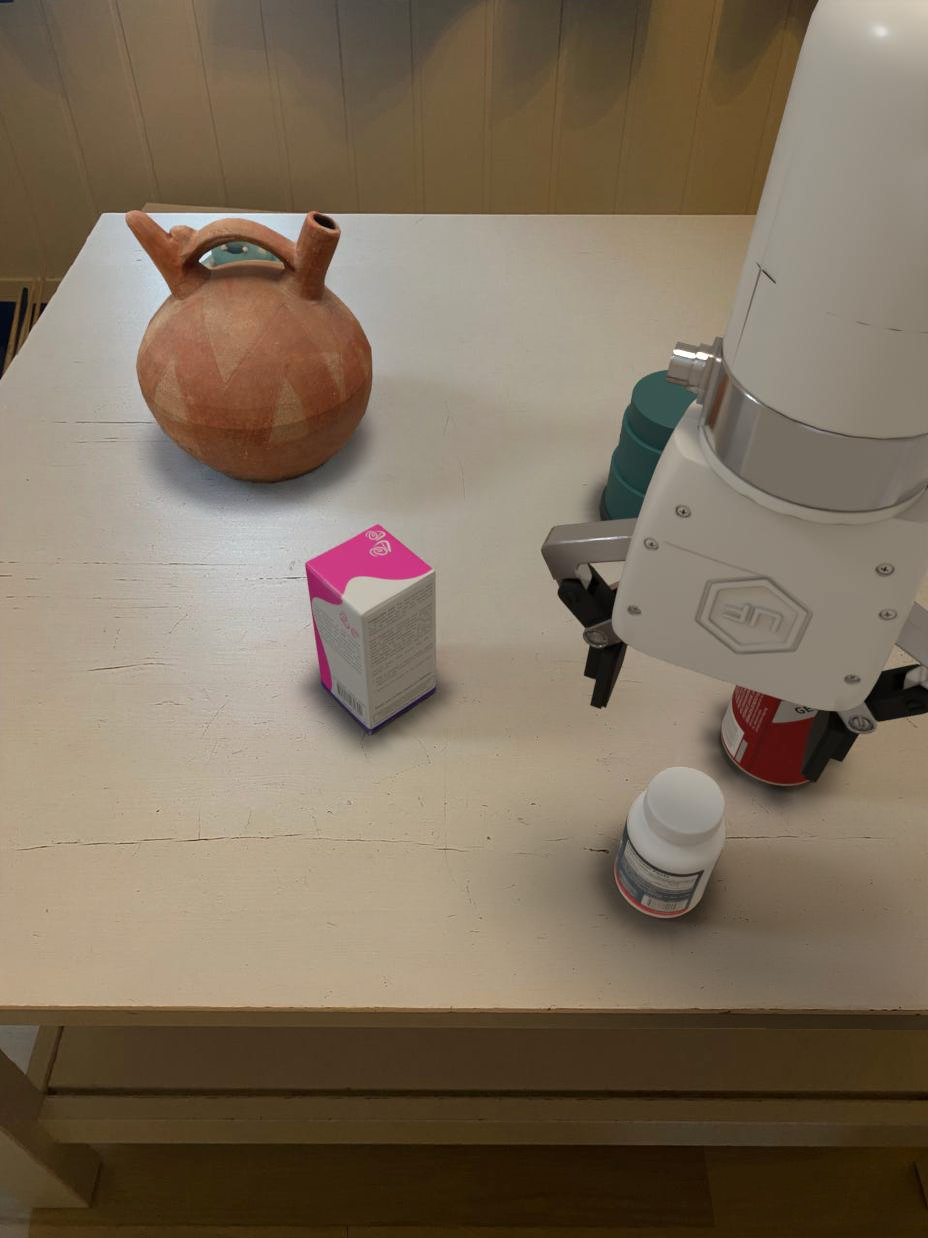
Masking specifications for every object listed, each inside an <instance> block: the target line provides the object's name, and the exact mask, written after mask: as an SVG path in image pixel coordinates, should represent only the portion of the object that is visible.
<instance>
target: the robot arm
mask: <svg viewBox="0 0 928 1238" xmlns="http://www.w3.org/2000/svg"><path fill="white" fill-rule="evenodd" d="M797 58H798V59H797V62H796V66H795V70H794V73H793V77H792V81H791V84H790V87H789V92H788V96H787V99H786V102H785V107H784V111H783V114H782V118H781V122H780V126H779V129H778V133H777V136H776V140H775V144H774V148H773V152H772V155H771V159H770V163H769V167H768V170H767V174H766V177H765V180H764V181H765V182H764V185H763V189H762V193H761V196H760V200H759V203H758V208H757V211H756V215H755V218H754V223H753V226H752V229H751V233H750V238H749V241H748V246H747V250H746V253H745V256H744V257H745V258H744V261H743V264H742V268H741V272H740V276H739V280H738V283H737V287H736V290H735V294H734V298H733V300H732V301H733V302H732V305H731V307H730V308H731V309H730V311H729V316H728V320H727V323H726V327H725V331H724V334H723V337H720V336H715V338H714V341H713V343H712V345H711V344H708V343H707V344H706V343H702V342H701V343H700V344H699V346H697V345H692V344H689V343H685V342H679V341H677V342H676V344H675V346H674V349H673V352H672V355H671V358H670V360H669V365H668V368H667V370H668V372H667V377H666V382H669V383H673V384H677V385H681V386H685V387H687V392H691V393H695V394H697V399H696V400H694V401H693V402H692V403H691V405H690V406H689V407H688V409H687V410H686V412H685V414H684V416H683V417H682V418H681V420H680V421H679V423H678V424H677V426H676V428H675V430H674V431H673V433H672V435H671V437H670V439H669V441H668V443H667V444H666V446H665V449H664V451H663V453H662V455H661V457H660V459H659V461H658V464H657V466H656V469H655V471H654V474H653V476H652V479H651V482H650V484H649V487H648V489H647V492H646V495H645V498H644V501H643V504H642V507H641V510H640V514H639V517H638V518H630V519H619V520H609V521H603V520H601V521H600V520H598V521H589V522H578V523H567V524H557V525H554V526H552V527H551V528H550V530H549V532H548V534H547V536H546V538H545V539H544V541H543V544H542V545H541V547H540V552H541V555H542V557H543V560H544V562H545V565H546V567H547V569H548V571H549V573H550V575H551V577H552V580H553V581H555V582H556V584H557V586H558V589H557V597H558V598H559V600H560V601H561V602H562V603H563V605H565V607H566V608H567V610H568V611H569V612H570V613H571V614H572V615H573V616H574V617H575V618H576V620H577V621H578V622H579V623H580V624H581V625H582V627H583V628H584V630H583V632H582V639H583V641H584V642H585V643H586V644H587V645H588V651H587V656H586V661H585V665H584V671H583V677H586V678H588V679H592V680H594V686H593V690H592V695H591V699H590V703H589V705H590V707H593V708H596V709H599V710H602V708H607V706H608V704H609V701H610V698H611V696H612V693H613V690H614V688H615V685H616V683H617V681H618V678H619V675H620V672H621V671H622V667H623V664H624V661H625V658H626V653H627V649H628V646H629V647H630V648H632V649H633V650H636V651H637V652H639V653H641V654H644V655H647V656H648V657H652V658H654V659H657V660H659V661H663V662H666V663H669V664H671V665H673V666H674V665H675V666H678V667H681V668H683V669H686V670H689V671H693V672H695V673H699V674H701V675H704V676H707V677H710V678H713V679H717V680H719V681H722V682H726V683H729V684H732V685H735V686H736V685H738V686H741V687H744V688H747V689H750V690H753V691H756V692H760V693H763V694H766V695H769V696H772V697H776V698H779V699H782V700H785V701H789V702H792V703H795V704H799V705H802V706H806V707H810V708H814V709H819V710H818V711H817V713H816V715H815V717H814V719H813V721H812V723H811V725H810V728H809V732H808V737H807V742H806V747H805V752H804V757H803V762H802V767H801V771H800V774H801V775H804V779H806V780H809V781H808V782H812V783H815V784H816V783H817V782H818V781H819V779H820V777H821V775H822V774H823V773H824V771H825V769H826V767H827V765H828V764H829V762H830V761H831V760H833V761H836V762H840V763H842V762H843V761H844V760H845V759H846V758H847V755H848V754H849V752H850V750H851V748H852V747H853V746H854V744H855V742H856V740H857V739H858V738H859V736H860V735H869V734H872V733H874V732H875V731H876V730H877V729H878V728H877V727H878V723H880V722H887V721H892V720H899V719H904V718H911V717H915V716H921V715H925V714H928V609H926V608H924V607H923V606H922V605H921V604H919V603H918V602H917V601H916V599H917V596H918V595H919V592H920V590H921V588H922V585H923V583H924V580H925V578H926V575H927V573H928V0H818V1H817V3H816V5H815V7H814V9H813V11H812V13H811V17H810V19H809V22H808V25H807V28H806V32H805V35H804V38H803V41H802V45H801V48H800V51H799V55H798V57H797ZM617 562H618V563H619V562H624V563H623V567H622V571H621V574H620V578H619V580H618V581H615V582H613V583H610V584H608V583H607V582H606V581H605V579H604V578H603V577H602V576H601V575H600V573H599V572H598V570H596V568H595V567H594V566H593V565H592V564H602V563H605V564H606V563H617ZM895 646H896V647H898V648H899V649H900V650H901V651H903V652H904V653H905V654H906V655H908V656H909V657H911V658H912V659H913V660H915V661H916V662H917V663H914V664H913V663H912V664H909V665H903V666H898V667H894V668H890V669H885V670H884V668H885V666H886V664H887V662H888V660H889V658H890V655H891V654H892V652H893V649H894V647H895Z"/></svg>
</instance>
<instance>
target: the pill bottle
mask: <svg viewBox="0 0 928 1238" xmlns="http://www.w3.org/2000/svg"><path fill="white" fill-rule="evenodd" d="M725 810H726V801H725V796H724V793H723V792H722V789H721V787H720V786H719V785H718V783H717V782H716V781H715V780H714V779H713V778H712V777H711V776H709V775H708V774H707V773H705V772H703V771H701V770H699V769H697V768H694V767H689V766H672V767H668V768H665V769H663V770H661V771H659V772H657V774H656V775H655V776H653V778H652V779H651V781H650V783H649V784H648V785H647V788H646V789H644V790H643V791H642V792H640V794H638V796H637V797H635V799H634V800H633V802H632V803H631V805H630V808H629V810H628V813H627V816H626V820H625V824H624V827H623V831H622V835H621V839H620V840H619V841H620V842H619V846H618V849H617V853H616V856H615V861H614V870H613V871H614V878H615V882H616V886H617V888H618V890H619V892H620V893H621V895H622V896H623V898H624V899H625V900H626V901H627V902H628V904H630V905H631V906H632V907H633V908H634V909H636V910H638V911H639V912H641V913H642V914H644V915H647V916H650V917H653V918H660V919H671V918H677V917H680V916H682V915H684V914H686V913H688V912H690V911H691V910H692V909H694V908H695V907H696V906H697V905H698V903H699V902H700V901H701V899H702V898H703V895H704V894H705V892H706V890H707V887H708V885H709V882H710V880H711V877H712V875H713V872H714V870H715V868H716V866H717V864H718V861H719V859H720V857H721V855H722V853H723V850H724V848H725V844H726V840H727V825H726V821H725V817H724V816H725Z"/></svg>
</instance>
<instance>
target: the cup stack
mask: <svg viewBox="0 0 928 1238" xmlns="http://www.w3.org/2000/svg"><path fill="white" fill-rule="evenodd" d="M667 372H668V369H666V370H665V369H663V370H659V371H655V372H651V373H649V374H647V375H645V376H643V377H641V378H640V379H639V380H638V381H637V382H636V384H635V385H634V387H633V389H632V392H631V397H630V403H629V404H628V405H627V407H626V408H625V409H624V412H623V415H622V421H621V427H620V433H619V440H618V445H617V446H616V447H615V449H614V450H613V452H612V454H611V459H610V465H609V469H608V470H609V471H608V476H607V483H606V485H605V487H604V489H603V490H602V493H601V496H600V503H599V514H600V518H601V521H609V520H619V519H630V518H638V517H639V514H640V510H641V507H642V504H643V501H644V498H645V495H646V492H647V489H648V487H649V484H650V482H651V479H652V476H653V474H654V471H655V469H656V466H657V464H658V461H659V459H660V457H661V455H662V453H663V451H664V449H665V446H666V444H667V443H668V441H669V439H670V437H671V435H672V433H673V431H674V430H675V428H676V426H677V424H678V423H679V421H680V420H681V418H682V417H683V416H684V414H685V412H686V410H687V409H688V407H689V406H690V405H691V403H692V402H693V401H694V400H696V399H697V394H695V393H691V392H687V387H685V386H681V385H677V384H673V383H669V382H666V377H667Z"/></svg>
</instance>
